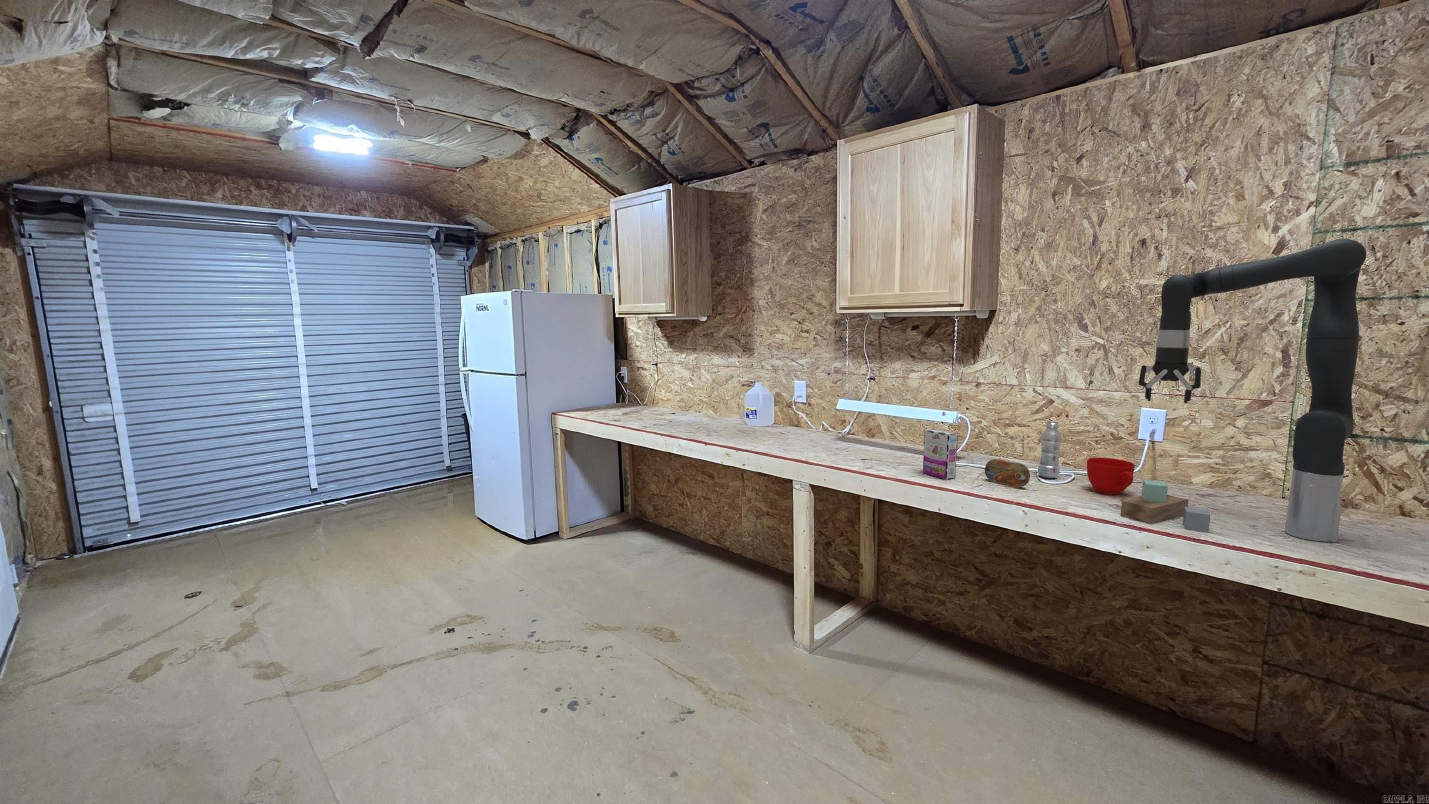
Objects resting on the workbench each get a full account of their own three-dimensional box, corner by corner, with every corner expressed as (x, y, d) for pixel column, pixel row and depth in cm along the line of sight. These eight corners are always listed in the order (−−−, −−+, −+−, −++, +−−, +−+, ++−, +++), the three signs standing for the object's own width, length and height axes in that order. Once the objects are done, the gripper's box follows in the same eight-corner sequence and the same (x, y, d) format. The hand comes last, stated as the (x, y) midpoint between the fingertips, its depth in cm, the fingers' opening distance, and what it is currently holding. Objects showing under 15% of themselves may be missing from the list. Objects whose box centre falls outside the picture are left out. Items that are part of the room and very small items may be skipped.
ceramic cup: (1108, 501, 185) (1111, 470, 184) (1076, 486, 202) (1078, 457, 201) (1150, 501, 185) (1153, 470, 184) (1114, 486, 202) (1117, 457, 201)
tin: (983, 480, 210) (985, 456, 209) (988, 479, 212) (990, 455, 210) (1025, 490, 197) (1027, 465, 196) (1030, 489, 199) (1032, 464, 198)
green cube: (1162, 498, 173) (1164, 481, 172) (1166, 503, 169) (1167, 486, 168) (1141, 496, 175) (1143, 479, 174) (1144, 501, 171) (1146, 484, 170)
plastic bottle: (1039, 474, 218) (1043, 420, 215) (1060, 477, 214) (1065, 422, 211) (1035, 477, 213) (1039, 422, 210) (1057, 481, 209) (1061, 424, 206)
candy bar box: (956, 478, 212) (958, 433, 210) (946, 480, 210) (948, 434, 207) (931, 471, 222) (933, 428, 219) (921, 473, 219) (923, 429, 217)
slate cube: (1205, 527, 163) (1208, 509, 162) (1208, 533, 158) (1210, 514, 158) (1182, 524, 165) (1184, 506, 165) (1184, 529, 161) (1186, 511, 161)
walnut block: (1186, 516, 173) (1188, 499, 172) (1150, 525, 165) (1152, 508, 164) (1156, 508, 180) (1157, 492, 179) (1120, 517, 172) (1121, 500, 171)
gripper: (1202, 346, 171) (1196, 402, 173) (1141, 344, 179) (1136, 398, 181) (1206, 347, 165) (1199, 405, 167) (1142, 345, 173) (1137, 401, 175)
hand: (1166, 401), depth 174 cm, fingers open, 8 cm apart
